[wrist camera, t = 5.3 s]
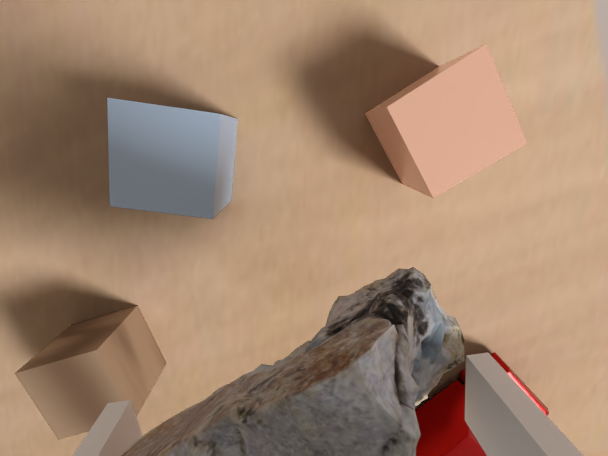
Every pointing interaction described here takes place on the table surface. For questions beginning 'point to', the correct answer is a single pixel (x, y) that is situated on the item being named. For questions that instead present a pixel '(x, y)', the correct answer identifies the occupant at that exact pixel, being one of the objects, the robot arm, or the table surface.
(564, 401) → the table surface
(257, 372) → the mineral specimen
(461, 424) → the toy car
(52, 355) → the walnut cube
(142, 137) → the slate-blue cube
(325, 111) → the table surface
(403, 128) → the salmon-pink cube
